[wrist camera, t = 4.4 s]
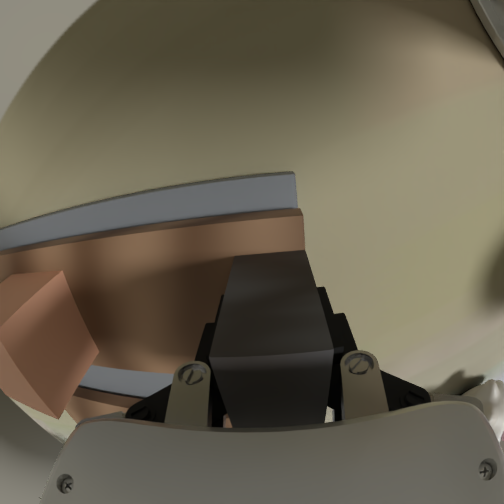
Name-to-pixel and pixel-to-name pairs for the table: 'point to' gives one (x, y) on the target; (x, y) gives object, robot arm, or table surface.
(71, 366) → the cube
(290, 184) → the slate base
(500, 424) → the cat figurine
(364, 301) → the table surface
